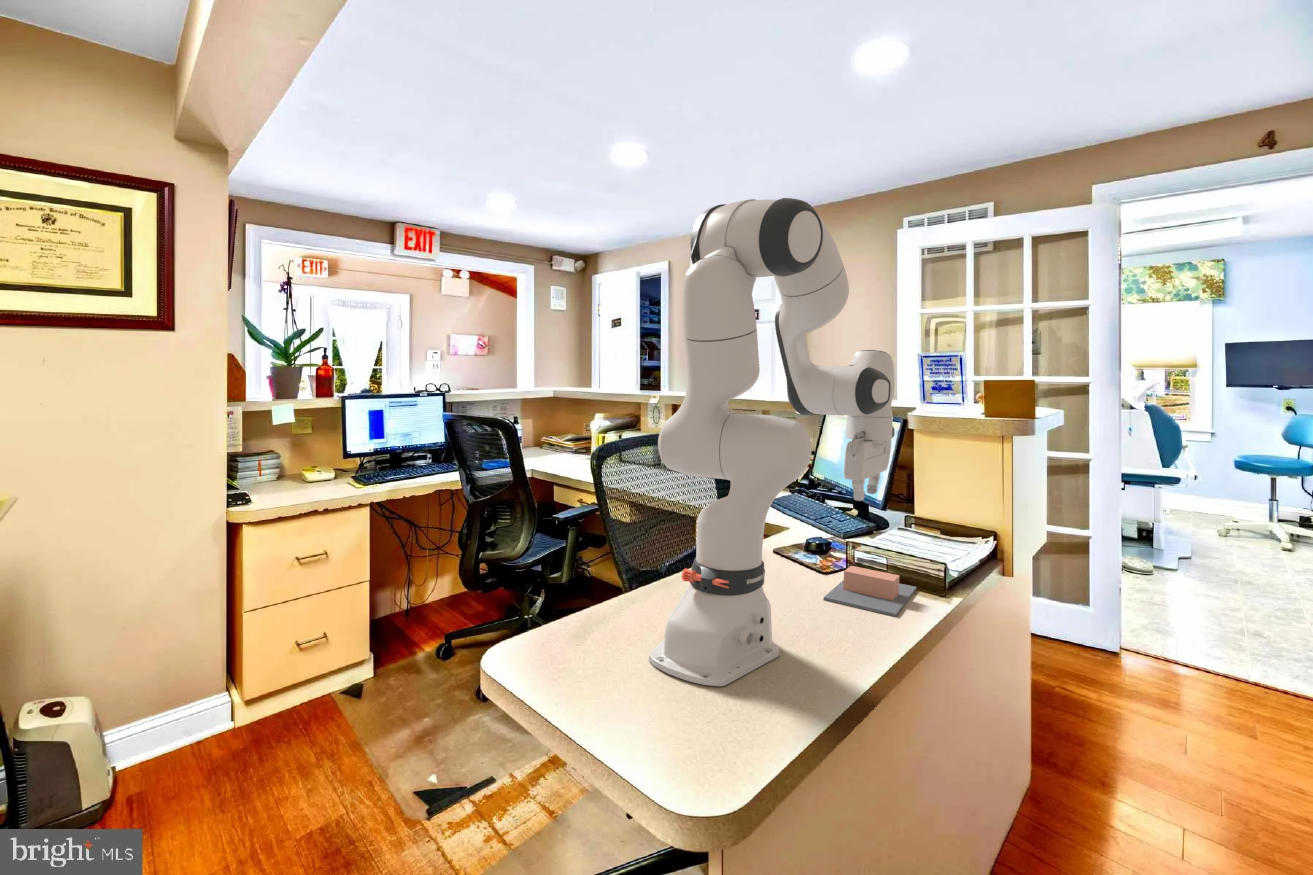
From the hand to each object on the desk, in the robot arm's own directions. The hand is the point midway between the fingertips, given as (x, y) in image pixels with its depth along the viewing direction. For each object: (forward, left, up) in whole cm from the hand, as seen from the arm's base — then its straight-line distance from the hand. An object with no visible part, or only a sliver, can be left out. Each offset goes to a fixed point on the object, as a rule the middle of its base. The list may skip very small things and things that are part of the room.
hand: (865, 496), depth 118 cm
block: (0, +3, -18) cm, 18 cm away
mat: (0, -2, -21) cm, 21 cm away
